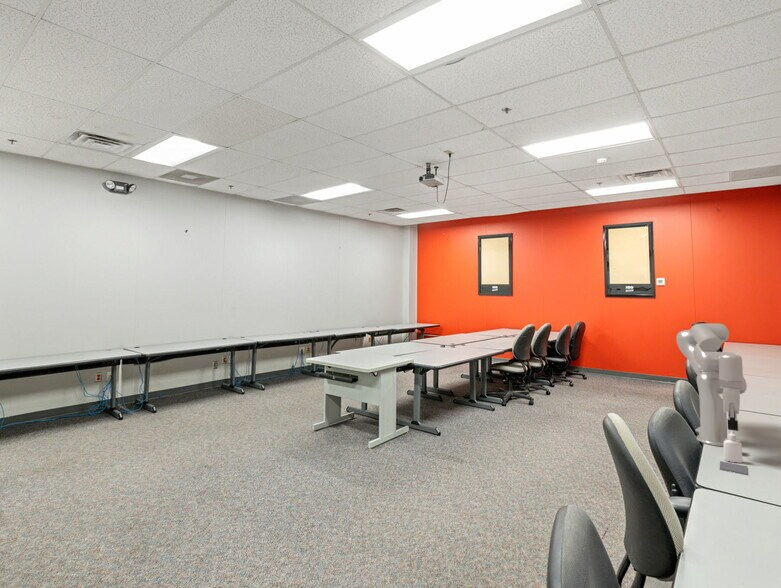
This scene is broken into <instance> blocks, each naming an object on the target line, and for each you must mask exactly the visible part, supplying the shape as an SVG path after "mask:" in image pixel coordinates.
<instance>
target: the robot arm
mask: <svg viewBox="0 0 781 588" xmlns="http://www.w3.org/2000/svg"><path fill="white" fill-rule="evenodd" d="M729 332H730V331H729V329H728V327H727V326H726V325H725V324H723V323H696V324H694V325H692V326H691V327H690V329H685V330H681V331H679V332H678V333H677V334H676V337H675V338H676V340H675V341H676V344H677V347H678V349H679V351H680V352H681V353H682V354H683V356H684V357H686V359H687V360H688V362H689V364H690V366H691V368H692V370H693V372H694V373H695V374H696V375H697V376H696V384H697V388H698V389H697V390H698V398H699V417H700V419H699V420H700V421H699V422H700V423H699V424H700V425H699V426H698V427H697V428H695V432H697V433H698V435H696V440H697V441H698V442H701V443H703V444H706V445H710V446H716V447H724V441H725V438H726V439H728V430H729V431H733V432H734V431H738V432H739V421H738V415H739V413H740V407H741V404H740V403H741V402H740V401H741V399H740V398H741V397H740V396H741V395H742V394H744V393H745V392H746V391H747V387H748V385H747V382H746V379H745V377H744V372H743V370H744V369H743V368H744V367H743V358H742V355H739V354H736V353H734V352H732V351H718V350H719V349H720V348H721V347H722V344H723V343H725V342H726V341H728V339H729V337H730V333H729ZM721 394H722V397H721V396H720V395H721Z"/></svg>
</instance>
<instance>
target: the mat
mask: <svg viewBox="0 0 781 588" xmlns="http://www.w3.org/2000/svg"><path fill="white" fill-rule="evenodd" d="M720 469H723V470H722V471H724V470H727V471H726V472H729V471H731V472H730V473H734V472H735V473H736V474H740V475H745V476H748V466H747V465H742V464H739V463H733V462H727V461H722V460H721V461H719V470H720Z"/></svg>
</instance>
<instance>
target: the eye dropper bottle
mask: <svg viewBox="0 0 781 588" xmlns="http://www.w3.org/2000/svg"><path fill="white" fill-rule="evenodd" d="M727 438H728V439H729V440H725V441H724V446H723V461H725V460H726V461H725V462H727V461H730V462H729V463H733V462H737V463H736V464H742V463H743V445H742V443H741V441H740V442H738V441H739V440H738V441H736V440H737V435H736V433H734V430H730V433H727Z"/></svg>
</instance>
